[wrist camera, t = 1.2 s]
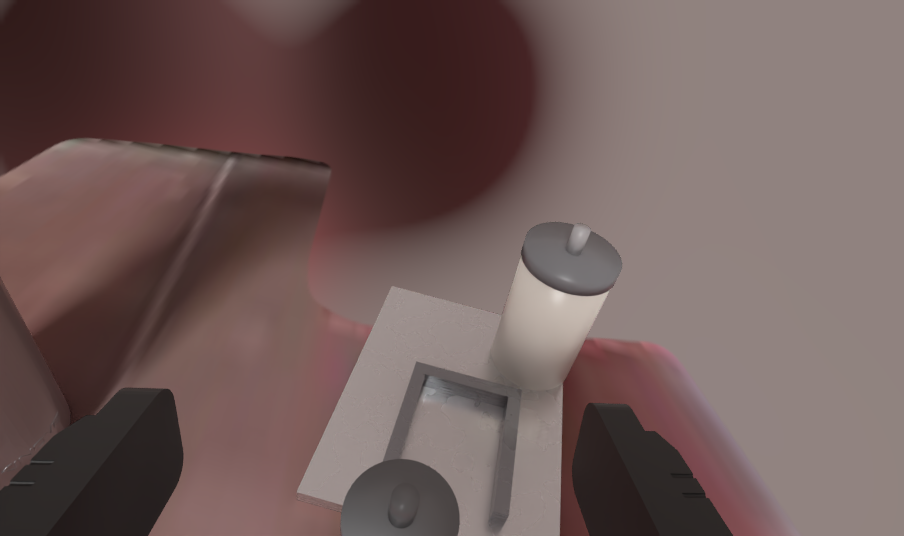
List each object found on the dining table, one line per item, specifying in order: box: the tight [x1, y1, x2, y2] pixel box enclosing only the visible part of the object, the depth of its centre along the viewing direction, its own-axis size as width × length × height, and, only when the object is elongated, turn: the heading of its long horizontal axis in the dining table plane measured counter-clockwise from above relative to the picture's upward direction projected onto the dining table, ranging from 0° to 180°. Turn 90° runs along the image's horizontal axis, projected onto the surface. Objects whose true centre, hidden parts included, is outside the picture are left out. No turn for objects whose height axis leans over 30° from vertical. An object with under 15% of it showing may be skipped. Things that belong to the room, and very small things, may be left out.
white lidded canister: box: [491, 222, 622, 391], centre depth 39 cm, size 7×7×14 cm
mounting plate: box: [297, 286, 563, 536], centre depth 39 cm, size 17×21×2 cm
